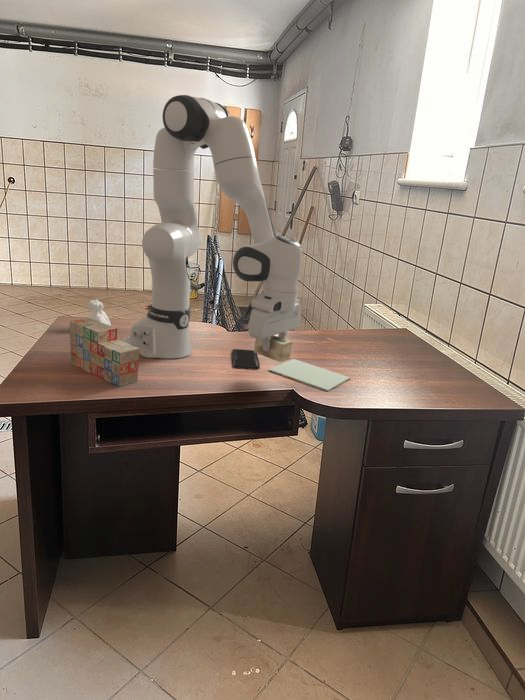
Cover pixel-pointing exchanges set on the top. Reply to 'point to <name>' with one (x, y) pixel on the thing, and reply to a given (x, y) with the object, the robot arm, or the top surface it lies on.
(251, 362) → the phone
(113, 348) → the stack of blocks
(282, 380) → the top surface
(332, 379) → the rubber mat
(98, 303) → the bust
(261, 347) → the maple block
